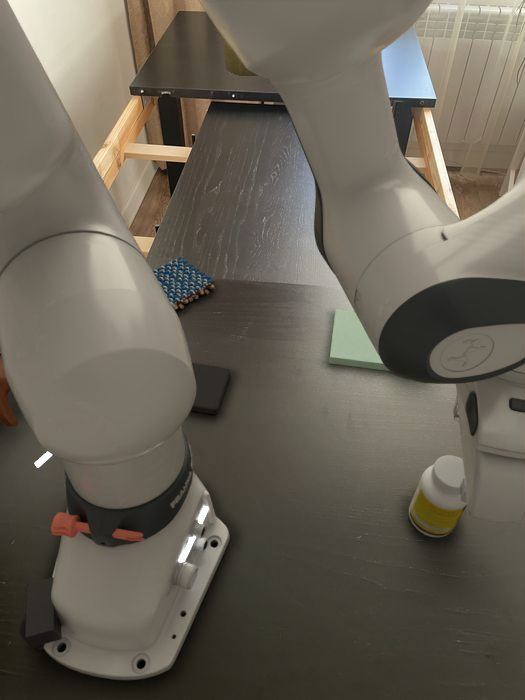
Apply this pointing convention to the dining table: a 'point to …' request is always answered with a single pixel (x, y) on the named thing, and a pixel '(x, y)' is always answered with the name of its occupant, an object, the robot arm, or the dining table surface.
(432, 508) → the supplement bottle
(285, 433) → the dining table surface
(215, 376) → the phone
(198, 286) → the woven mat
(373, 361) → the scale
